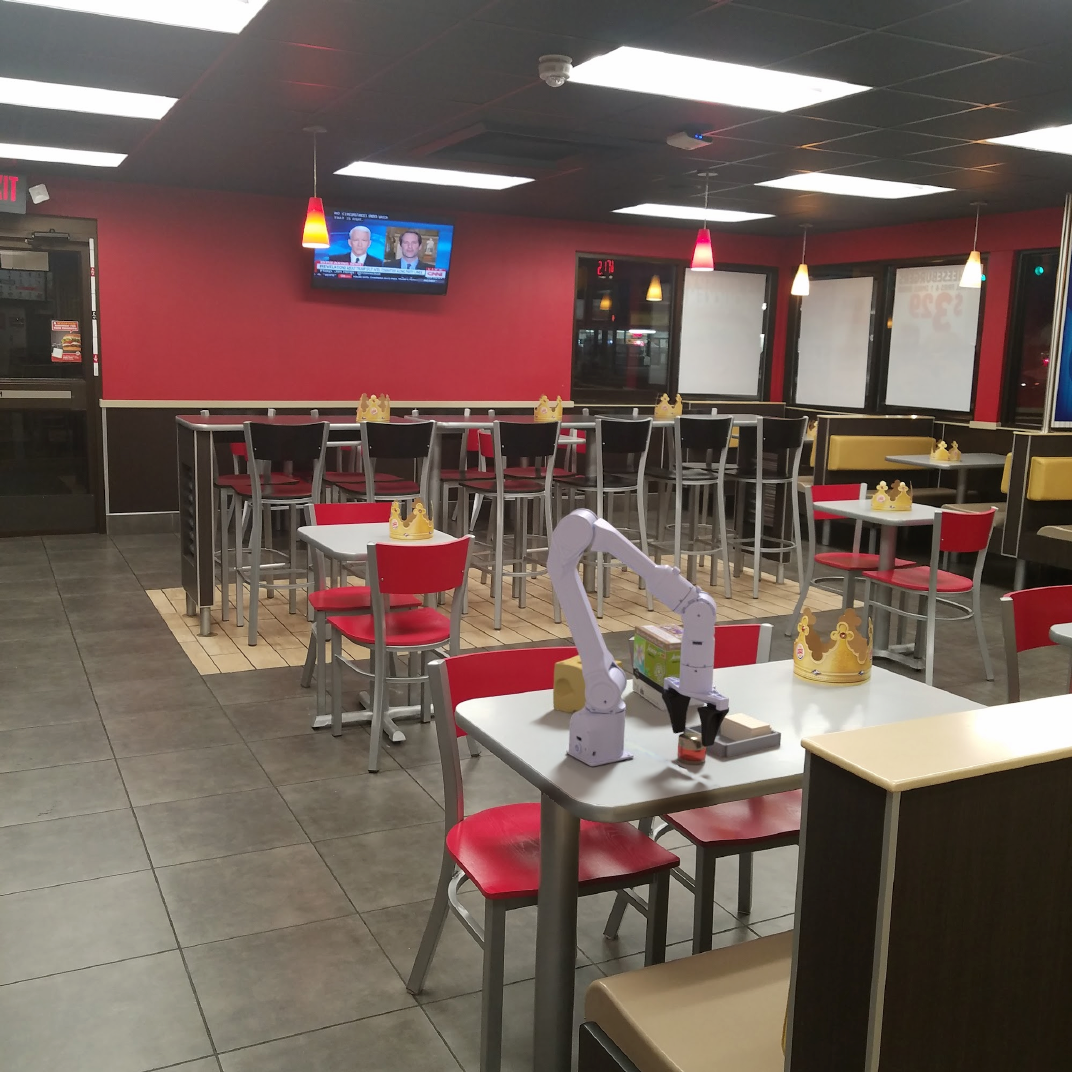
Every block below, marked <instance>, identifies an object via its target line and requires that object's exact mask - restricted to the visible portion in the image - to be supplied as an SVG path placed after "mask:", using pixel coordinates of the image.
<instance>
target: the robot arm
mask: <svg viewBox="0 0 1072 1072" xmlns="http://www.w3.org/2000/svg"><path fill="white" fill-rule="evenodd" d="M590 545H591V548H590V552H600V553H609V554H610V555H612V556H613V557H614V558H615V559H617V560H618V561H620V562H621V563H622V564H624V565H625V566H626V567H627V568H629V569H631V570H632V571H633V572H635V573H636V574H637V575H638V576H640V577H641V578H642V579H643V580H644V582H645V586H646V587H645V588H646V591H647V592H648V593H650V594H651V595H652V596H654V598H656V599H657V600H658V601H659V602H661V603H662V604H663V605H664V606H666V607H667V608H668V609H669V610H671V611H672V612H673V613H674V614H678V615H680V618H681V621H682V624H683V627H682V628H683V635H682V638H681V658H680V679H678V678H675V677H668V678H664V689H667V690H668V691H667V693H663V694H662V699H663V700H664V702H665V704H666V707H667V709H668V710H667V712H668V715H669V719H670V724H671V728H672V733H673V734H682V733H683V732H684V730H685V727H687V726H686V725H687V724H686V723H687V715H688V710H689V709H688V708H689V707H690V706H689V702H690V699H691V698H693V699H696V700H698V701H701V702H704V704H706V705H705V706H703V705H702V706H698V707H697V709H696V711H697V714H698V717H699V720H700V724H701V740H702V746H704V747H707V746H711V745H714V741H715V738H716V735H717V732H718V730H719V727H720V725H721V723H722V721H723V719H724V718H725V716H728V714H729V712H730V707H729V702H730V698H729V697H726V696H725V695H723V694H722V693H720V692H719V691H717V689H716V685H715V684H713V680H714V664H715V647H716V646H715V645H716V642H715V641H716V639H715V634H716V632H715V631H716V629H715V624H716V621H717V619H718V618H717V612H718V607H717V603H716V601H715V599H714V598H713V596H711V595H710V593H709V592H706V591H703V588H701V587H700V586H699V585H696V586H694V585H693V584H692V583H691V582H690V581H689V580H687V578H685V577H684V576H682V575H681V574H680V573H681V569H680V568H679V567H677V566H676V565H674V566H673V567H672V566H670V565H669V564H656V563H655V562H654V561H653V560H652V559H650V558H649V557H648V556H647V555H646V554H645V553H644V552H642V550H641V549H639V548H638V547H637V546H636V545H635V544H633V542H632V541H630V540H629V539H628V538H627V537H625V536H624V535H623V534H622V533H621V532H620V531H618V529H617V528H615V527H614V526H613V525H611V523H609V522H608V521H606V520H605V519H604V518H602V517H598V515H597V514H596V513H595V512H594V511H592V510H590V509H587V508H577V509H573V511H571V512H570V513H569V514H567V515H566V516H564V517H562V518H561V519H560V521H559V522H558V523H557V525H556V526H555V528H554V530H553V531H552V533H551V541H550V546H549V552H548V555H547V560H546V565H545V566H546V571H547V573H548V576H549V580H550V581H551V584H552V586H553V589H554V592H555V595H556V598H557V600H558V603H559V606H560V608H561V610H562V611H561V612H562V613H563V615H564V618H565V622H566V624H567V626H568V629H569V632H570V635H571V637H572V640H573V642H574V645H575V648H576V651H577V653H578V655H579V656H580V658H581V662H582V673H583V678H584V680H585V685H586V688H585V698H586V702H585V706H584V708H583V709H581V710H580V711H577V712H575V713H572V715H571V717H570V720H569V733H568V735H569V736H568V741H569V742H568V749H566V752H565V753H566V754H567V755H569V756H571V757H573V758H575V759H577V760H578V761H581V762H582V763H584V764H586V765H588V766H590V767H596V766H600V765H606V764H610V763H614V762H619V761H623V760H629V759H633V758H634V757H635V756H634V754H633V753H632V752H629V751H628V750H625V748H624V747H625V730H626V729H625V726H626V710H627V709H626V708H627V707H626V702H624V700H623V698H622V695H623V693H624V691H625V690H626V688H627V684H628V680H627V676H626V673H625V672H624V670H622V669H621V668H620V667H619V666H618V665H617V664H616V663H615V661H616V660H615V658H614V656H613V654H612V653H611V652H610V651H609V649H608V648H607V646H606V643H605V640H604V638H603V635H602V631H601V630H600V627H599V624H598V622H597V621H598V620H597V618H596V616H595V613H594V611H593V608H592V606H591V605H592V604H591V602H590V601H589V596H588V595H587V592H586V589H585V586H584V584H583V582H582V579H581V576H580V574H579V570H578V568H577V566H578V564H579V562H580V560H581V559H582V556H583V555H584V553H585V550H586V549H587V548H588V547H589V546H590ZM614 660H615V661H614Z"/></svg>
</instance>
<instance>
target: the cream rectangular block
mask: <svg viewBox="0 0 1072 1072" xmlns="http://www.w3.org/2000/svg"><path fill="white" fill-rule="evenodd" d="M771 729H772V727H771V724H769V723H767V722H764V721H762V720H759V719H757V718H755V717H751V716H749V715H747V714H745V713H741V712H740V713H739V712H738V713H734V714H731V715H730V714H729V715H726V716H725V718H724V719H723V721H722V723H721V735H723V736H725V737H728V738H730V739H732V740H735V741H742V740H746V739H750V738H755V737H759V736H764V735H768V734H771Z"/></svg>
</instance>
